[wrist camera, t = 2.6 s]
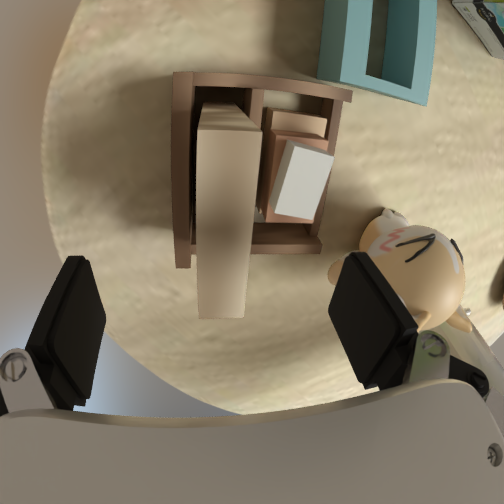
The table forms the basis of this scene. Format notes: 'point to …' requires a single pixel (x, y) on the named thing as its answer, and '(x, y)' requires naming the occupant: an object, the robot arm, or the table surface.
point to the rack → (182, 126)
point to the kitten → (416, 269)
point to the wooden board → (225, 207)
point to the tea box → (485, 22)
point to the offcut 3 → (300, 180)
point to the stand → (396, 47)
